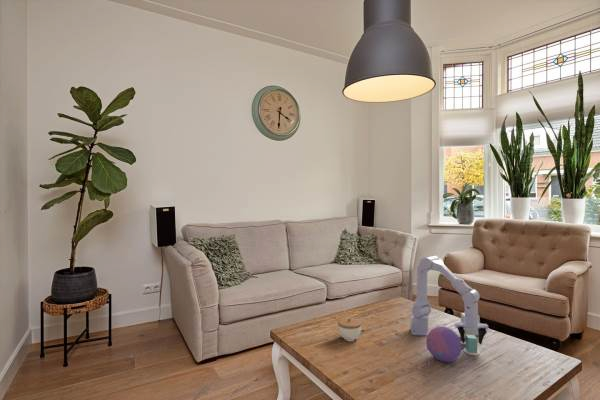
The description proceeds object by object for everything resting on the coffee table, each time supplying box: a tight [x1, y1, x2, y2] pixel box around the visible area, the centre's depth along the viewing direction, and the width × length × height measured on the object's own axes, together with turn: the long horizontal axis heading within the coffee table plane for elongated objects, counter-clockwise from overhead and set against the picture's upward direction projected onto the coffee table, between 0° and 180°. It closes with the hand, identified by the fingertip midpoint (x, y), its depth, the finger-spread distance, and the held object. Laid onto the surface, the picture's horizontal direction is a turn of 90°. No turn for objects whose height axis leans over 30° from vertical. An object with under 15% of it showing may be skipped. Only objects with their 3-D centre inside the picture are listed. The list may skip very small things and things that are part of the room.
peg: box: [465, 335, 478, 353], centre depth 158 cm, size 4×4×7 cm
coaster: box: [463, 348, 480, 356], centre depth 158 cm, size 7×7×1 cm
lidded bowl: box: [337, 316, 362, 341], centre depth 175 cm, size 13×13×11 cm
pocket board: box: [457, 334, 466, 349], centre depth 168 cm, size 18×10×2 cm, turn 79°
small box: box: [460, 312, 481, 336], centre depth 178 cm, size 8×6×10 cm
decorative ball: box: [425, 326, 463, 363], centre depth 151 cm, size 15×15×15 cm
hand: (471, 342), depth 158 cm, fingers open, 7 cm apart
